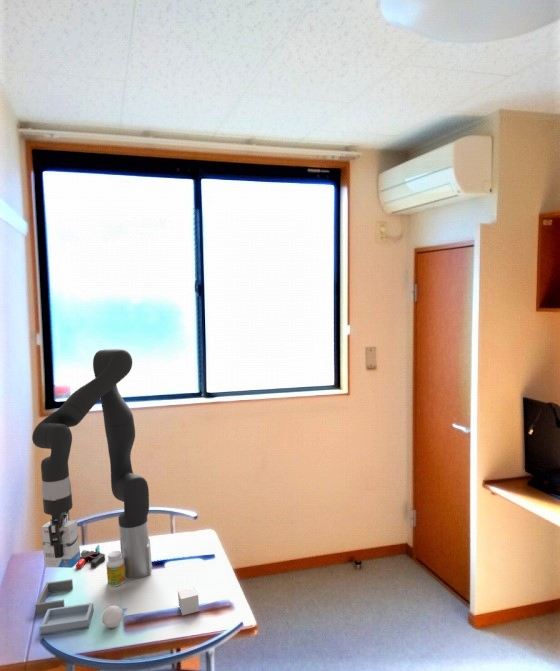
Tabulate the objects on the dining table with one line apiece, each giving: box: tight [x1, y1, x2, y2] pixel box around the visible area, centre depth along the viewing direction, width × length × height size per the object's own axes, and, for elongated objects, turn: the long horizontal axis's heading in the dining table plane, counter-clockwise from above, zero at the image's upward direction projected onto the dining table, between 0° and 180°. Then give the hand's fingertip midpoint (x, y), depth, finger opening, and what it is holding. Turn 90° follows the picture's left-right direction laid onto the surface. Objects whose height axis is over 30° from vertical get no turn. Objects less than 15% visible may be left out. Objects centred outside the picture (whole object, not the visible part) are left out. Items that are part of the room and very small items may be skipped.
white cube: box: [177, 586, 200, 616], centre depth 156 cm, size 5×5×5 cm
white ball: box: [101, 604, 124, 629], centre depth 150 cm, size 8×6×6 cm
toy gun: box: [75, 544, 106, 570], centre depth 187 cm, size 10×12×5 cm
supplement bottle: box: [105, 550, 126, 587], centre depth 172 cm, size 5×5×10 cm
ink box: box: [40, 520, 81, 569], centre depth 150 cm, size 8×5×12 cm, turn 81°
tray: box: [39, 602, 95, 636], centre depth 152 cm, size 9×13×2 cm
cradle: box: [34, 578, 74, 615], centre depth 164 cm, size 8×13×3 cm, turn 10°
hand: (62, 551), depth 151 cm, fingers closed on ink box, 6 cm apart
